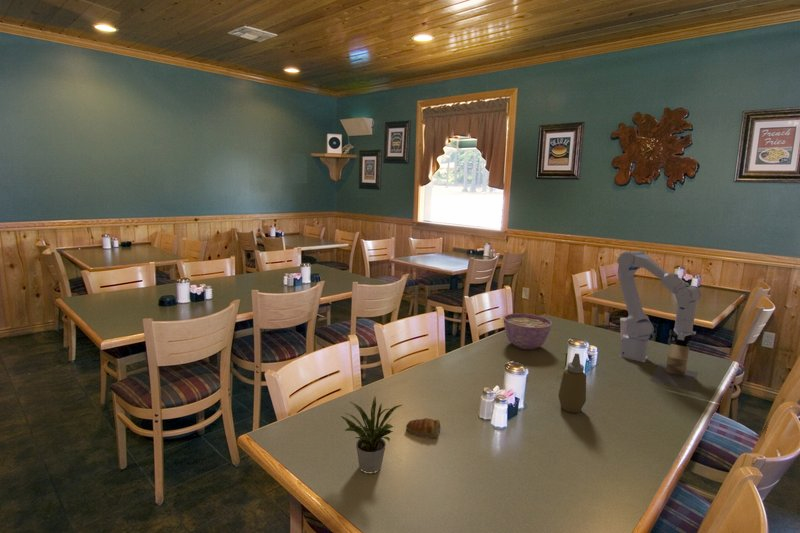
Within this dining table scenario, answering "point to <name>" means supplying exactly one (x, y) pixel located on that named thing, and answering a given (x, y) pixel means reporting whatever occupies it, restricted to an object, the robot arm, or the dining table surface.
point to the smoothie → (623, 327)
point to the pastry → (424, 427)
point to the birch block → (677, 359)
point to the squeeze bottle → (573, 387)
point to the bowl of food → (526, 330)
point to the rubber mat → (674, 378)
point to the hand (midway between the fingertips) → (680, 353)
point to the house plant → (370, 437)
